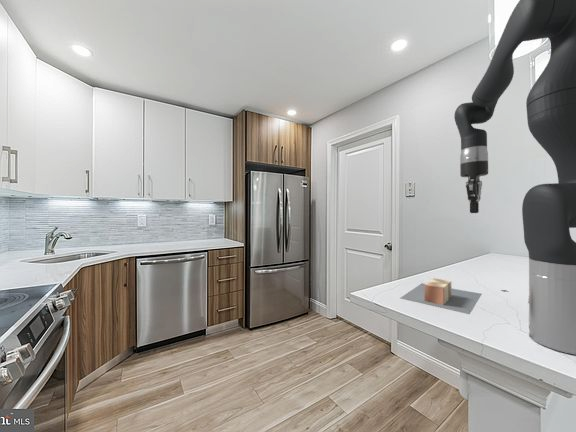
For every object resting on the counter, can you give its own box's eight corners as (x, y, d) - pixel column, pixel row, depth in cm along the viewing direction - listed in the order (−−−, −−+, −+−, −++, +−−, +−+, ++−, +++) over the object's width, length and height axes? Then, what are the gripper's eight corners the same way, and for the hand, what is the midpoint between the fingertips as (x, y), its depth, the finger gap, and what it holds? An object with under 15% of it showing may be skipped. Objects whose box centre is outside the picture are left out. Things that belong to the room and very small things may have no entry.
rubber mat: (481, 294, 80) (481, 293, 80) (469, 315, 65) (469, 314, 65) (421, 284, 93) (421, 283, 93) (399, 299, 78) (399, 298, 78)
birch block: (451, 281, 78) (443, 288, 71) (451, 296, 78) (443, 305, 71) (433, 278, 82) (424, 284, 75) (433, 293, 82) (424, 301, 75)
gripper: (485, 157, 75) (485, 213, 75) (490, 162, 85) (491, 212, 85) (456, 161, 81) (456, 213, 81) (464, 166, 90) (464, 213, 90)
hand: (474, 213), depth 83 cm, fingers closed
